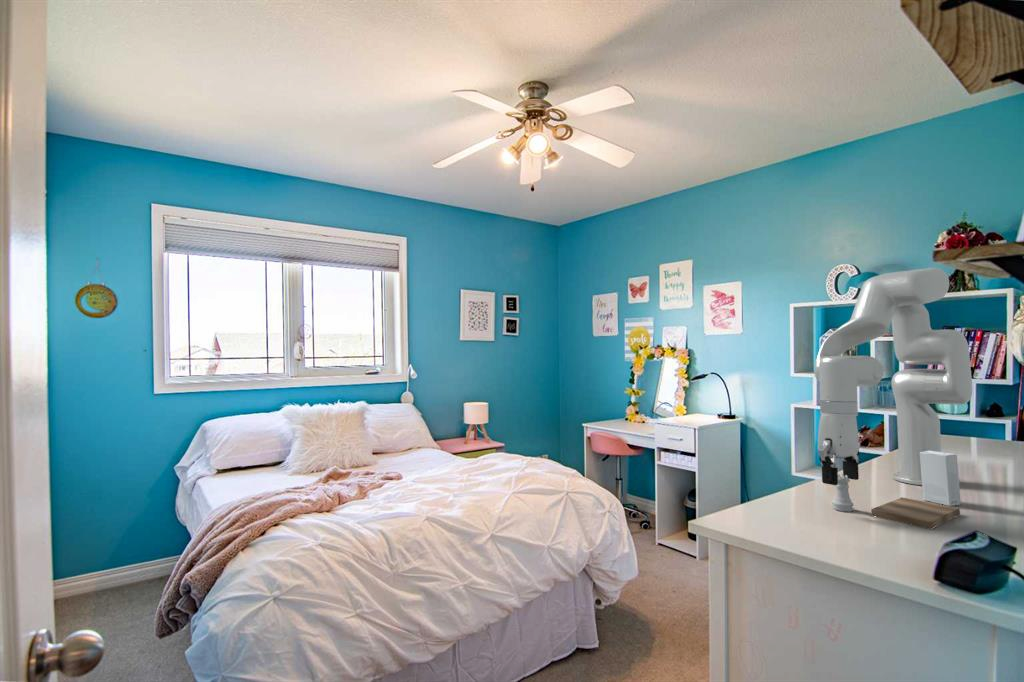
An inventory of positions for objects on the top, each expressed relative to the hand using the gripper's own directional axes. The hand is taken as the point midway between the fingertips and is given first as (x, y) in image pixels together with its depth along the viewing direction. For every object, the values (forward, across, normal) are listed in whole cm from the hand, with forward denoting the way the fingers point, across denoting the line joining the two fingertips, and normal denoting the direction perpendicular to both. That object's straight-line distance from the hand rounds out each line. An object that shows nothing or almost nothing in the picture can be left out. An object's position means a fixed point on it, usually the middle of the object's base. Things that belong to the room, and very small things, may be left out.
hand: (840, 481), depth 121 cm
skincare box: (+6, -25, +11) cm, 28 cm away
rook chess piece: (+7, -1, 0) cm, 7 cm away
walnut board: (+6, -9, +12) cm, 16 cm away
